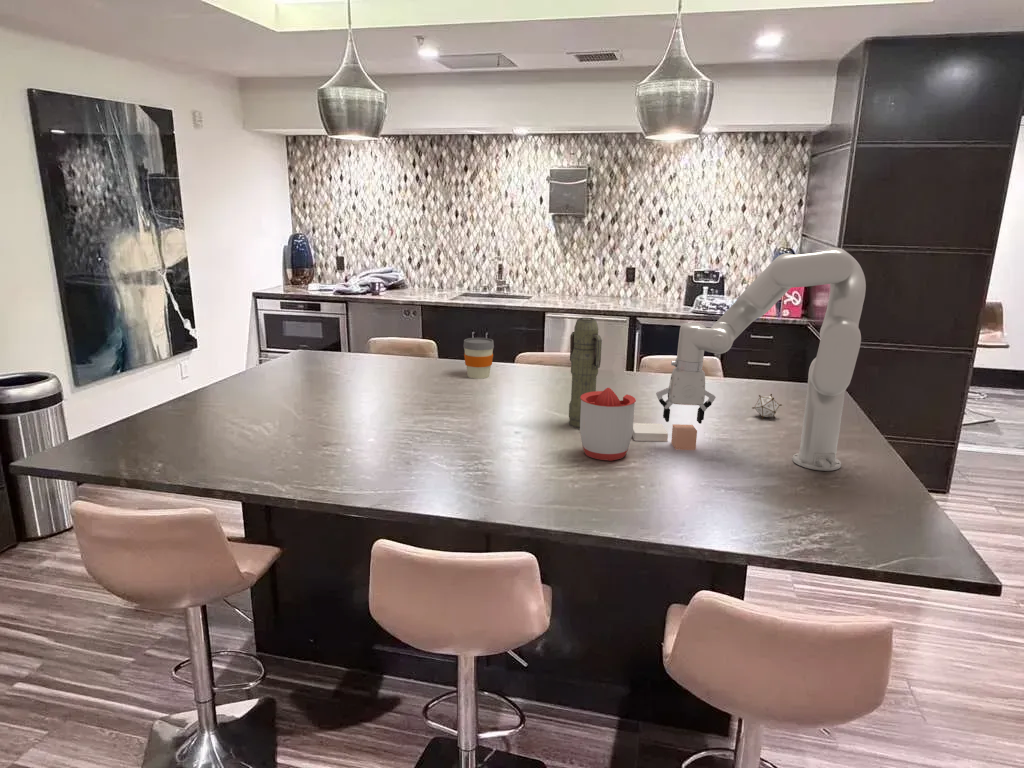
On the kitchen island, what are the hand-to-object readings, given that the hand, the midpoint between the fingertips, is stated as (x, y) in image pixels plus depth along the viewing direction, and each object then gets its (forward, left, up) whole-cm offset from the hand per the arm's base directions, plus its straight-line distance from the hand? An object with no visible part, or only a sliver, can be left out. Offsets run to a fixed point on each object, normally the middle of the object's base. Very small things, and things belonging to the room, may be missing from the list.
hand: (682, 421), depth 211 cm
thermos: (+19, +28, -8) cm, 35 cm away
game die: (+32, -36, -8) cm, 48 cm away
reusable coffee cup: (+82, +66, -8) cm, 106 cm away
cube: (0, -1, -8) cm, 8 cm away
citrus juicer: (-8, +23, -8) cm, 26 cm away
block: (+9, +8, -8) cm, 14 cm away
